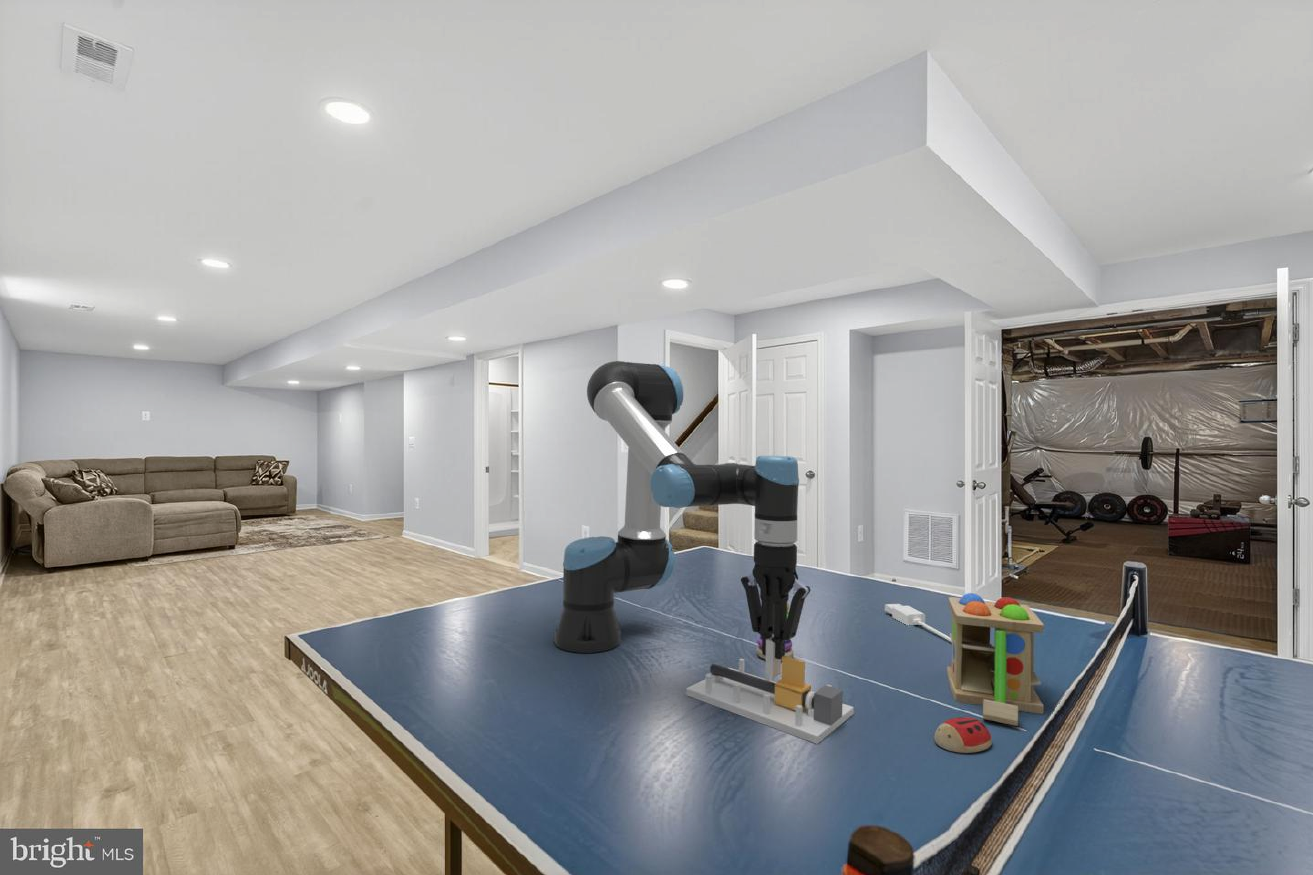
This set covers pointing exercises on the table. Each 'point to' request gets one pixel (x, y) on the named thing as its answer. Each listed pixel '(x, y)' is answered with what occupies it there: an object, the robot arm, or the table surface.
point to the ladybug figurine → (963, 735)
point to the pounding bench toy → (994, 657)
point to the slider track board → (772, 703)
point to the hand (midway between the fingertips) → (772, 674)
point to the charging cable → (910, 617)
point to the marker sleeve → (791, 684)
